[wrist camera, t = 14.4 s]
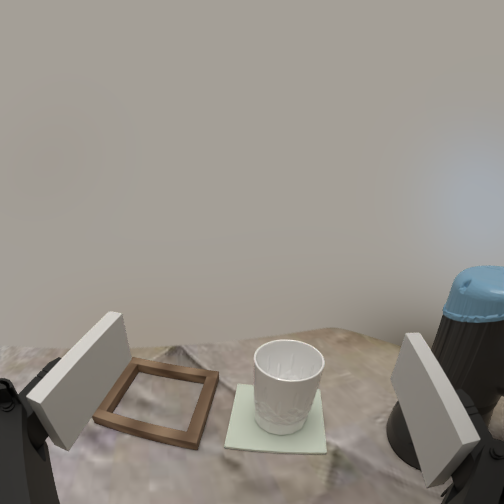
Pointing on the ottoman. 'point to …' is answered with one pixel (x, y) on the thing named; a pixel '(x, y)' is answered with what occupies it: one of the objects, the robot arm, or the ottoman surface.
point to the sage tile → (258, 440)
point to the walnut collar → (154, 431)
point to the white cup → (285, 384)
